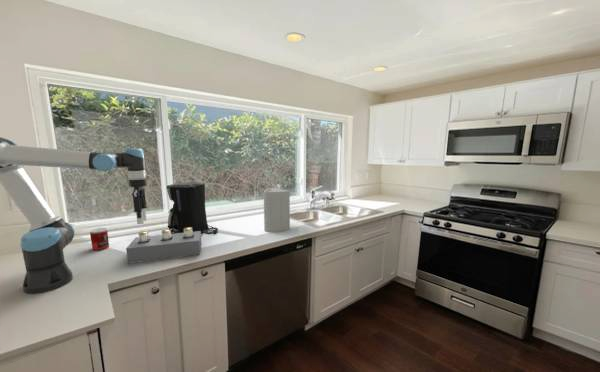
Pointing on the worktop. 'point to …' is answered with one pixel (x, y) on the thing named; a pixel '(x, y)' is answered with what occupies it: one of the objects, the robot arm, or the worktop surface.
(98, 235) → the canned food
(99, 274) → the worktop surface
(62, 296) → the worktop surface
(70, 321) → the worktop surface
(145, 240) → the knob near
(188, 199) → the coffee maker
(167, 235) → the knob middle
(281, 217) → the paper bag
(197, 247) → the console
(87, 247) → the worktop surface
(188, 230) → the knob far
